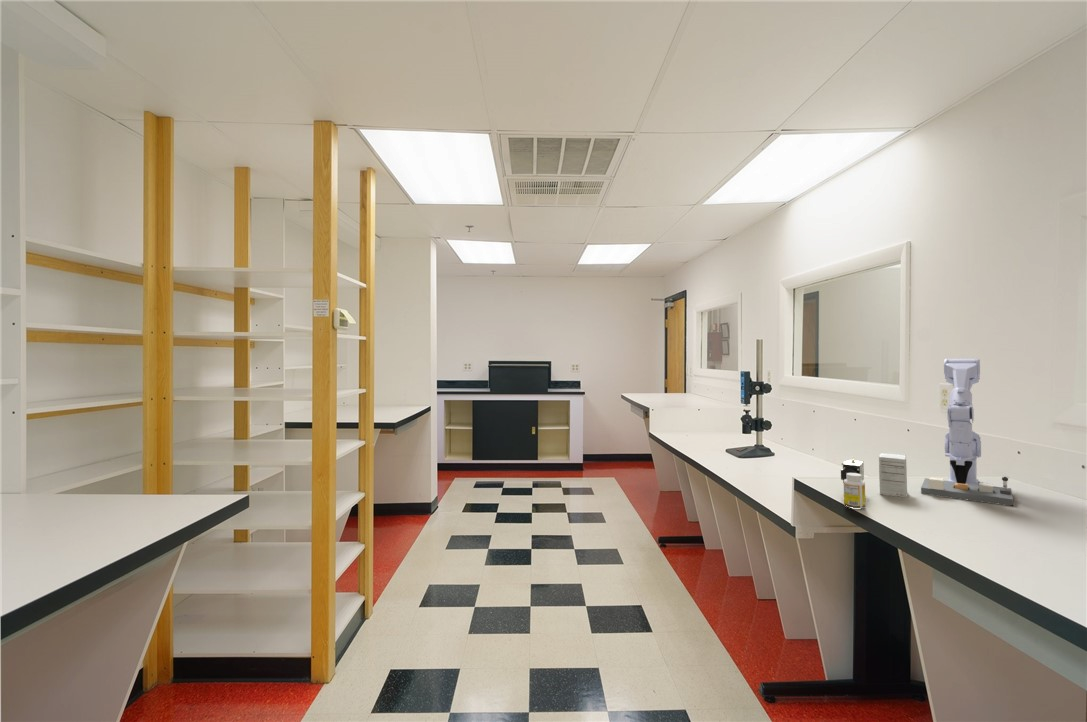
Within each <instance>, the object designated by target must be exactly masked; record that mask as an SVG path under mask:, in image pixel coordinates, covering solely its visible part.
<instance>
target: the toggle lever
mask: <svg viewBox="0 0 1087 722" xmlns="http://www.w3.org/2000/svg"><path fill="white" fill-rule="evenodd" d="M1001 480H1002V482H1003V483H1002V484H1003V485H1002V487H1003V488H1008V481H1009V477H1007V476H1002V477H1001Z"/></svg>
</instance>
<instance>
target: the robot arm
mask: <svg viewBox="0 0 1087 722" xmlns="http://www.w3.org/2000/svg"><path fill="white" fill-rule="evenodd" d="M943 375H944V379H945V381H946V383H948V384H951V385H952V386H953V389H951V390H950V392H949V406H947V408H946V409H947V411H946V415H947V416H946V417H947V418H946V419H947V422H948V428H949V429H948V430H949V431H947V432H946V434H945V435H944V437H945V438H944V453H945V454H944V456H945V457H949V475H948V476H949V477H948V480H947V481H952V482H957V483H961V484H966V483H969V484H978V485H979V478H978V477H977V474H978V473H977V471H978V469H977V468H978V467H977V459H979V458H981V457H982V441H981V436H980V435H979V434H978V433H977V432H975V431H974V430H973V423H974V421H975V418H974V416H975V415H974V411H975V409H974V406H973V393H972V391H971V388H972V387H973V385H975V384H977V383H979V381H980V376H981V359H979V358H978V357H977V358H945V359H944V360H943Z"/></svg>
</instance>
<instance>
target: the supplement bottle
mask: <svg viewBox="0 0 1087 722" xmlns="http://www.w3.org/2000/svg"><path fill="white" fill-rule="evenodd" d="M846 477H847V478H846V479H845V480H844V483H843V502H844V503H843V505H844V504H845V505H847V506H848V507H853V508H866V482H865V481H864V480H863V481H862V475H861V474H858V473H847V474H846ZM845 505H844V506H845Z"/></svg>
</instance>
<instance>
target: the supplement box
mask: <svg viewBox="0 0 1087 722" xmlns="http://www.w3.org/2000/svg"><path fill="white" fill-rule="evenodd" d="M878 470H879V473H878V474H879V477H878V478H879V481H878V482H879V494H880V495H882V494H883V495H884V496H889V495H891V496H890V497H897V496H900V497H899V498H907V497H908V480H907V479H908V477H907V476H908V474H907V470H908V469H907V455H905V454H897V453H886V452H885V453H884V452H883V453H882V452H880V453H879V456H878Z"/></svg>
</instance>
